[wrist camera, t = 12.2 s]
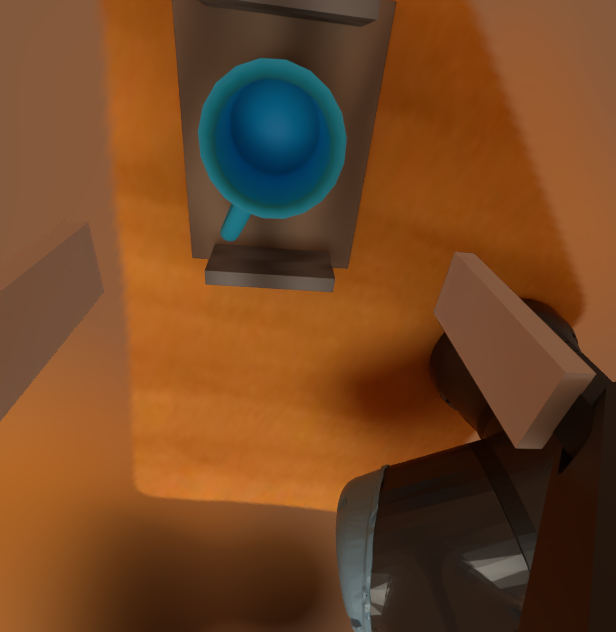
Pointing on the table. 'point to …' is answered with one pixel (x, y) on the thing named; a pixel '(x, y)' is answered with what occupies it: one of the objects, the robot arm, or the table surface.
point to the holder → (348, 91)
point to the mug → (270, 141)
